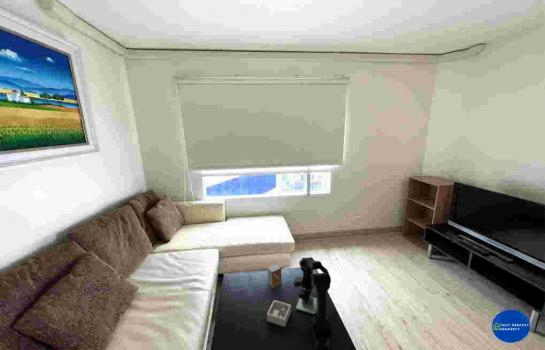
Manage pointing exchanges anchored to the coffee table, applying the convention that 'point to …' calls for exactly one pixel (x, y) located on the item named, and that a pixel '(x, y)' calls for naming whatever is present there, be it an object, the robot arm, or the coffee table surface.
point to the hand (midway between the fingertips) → (307, 298)
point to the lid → (310, 306)
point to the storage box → (279, 313)
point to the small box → (274, 275)
